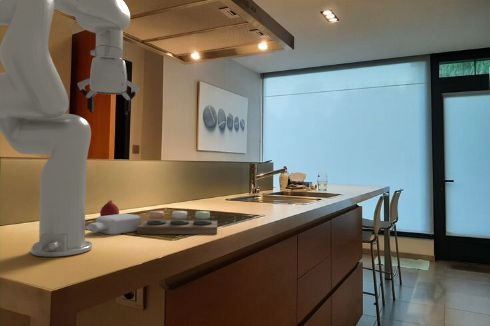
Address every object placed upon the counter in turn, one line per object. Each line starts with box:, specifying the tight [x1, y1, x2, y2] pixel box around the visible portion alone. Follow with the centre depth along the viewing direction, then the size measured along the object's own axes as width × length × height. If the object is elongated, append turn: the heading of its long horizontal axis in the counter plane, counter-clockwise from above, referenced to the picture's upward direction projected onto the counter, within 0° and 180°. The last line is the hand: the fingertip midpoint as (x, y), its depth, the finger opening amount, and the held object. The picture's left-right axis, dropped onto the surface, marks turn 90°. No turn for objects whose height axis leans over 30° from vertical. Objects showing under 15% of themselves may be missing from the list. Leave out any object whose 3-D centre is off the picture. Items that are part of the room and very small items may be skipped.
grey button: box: [171, 210, 188, 220], centre depth 112 cm, size 4×4×2 cm
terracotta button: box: [148, 210, 165, 220], centre depth 112 cm, size 4×4×2 cm
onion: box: [99, 199, 120, 217], centre depth 121 cm, size 6×6×8 cm
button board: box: [136, 219, 218, 235], centre depth 112 cm, size 12×23×3 cm, turn 94°
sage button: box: [194, 210, 211, 220], centre depth 113 cm, size 4×4×2 cm
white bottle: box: [85, 213, 142, 236], centre depth 107 cm, size 5×9×15 cm
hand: (108, 113), depth 109 cm, fingers open, 9 cm apart
